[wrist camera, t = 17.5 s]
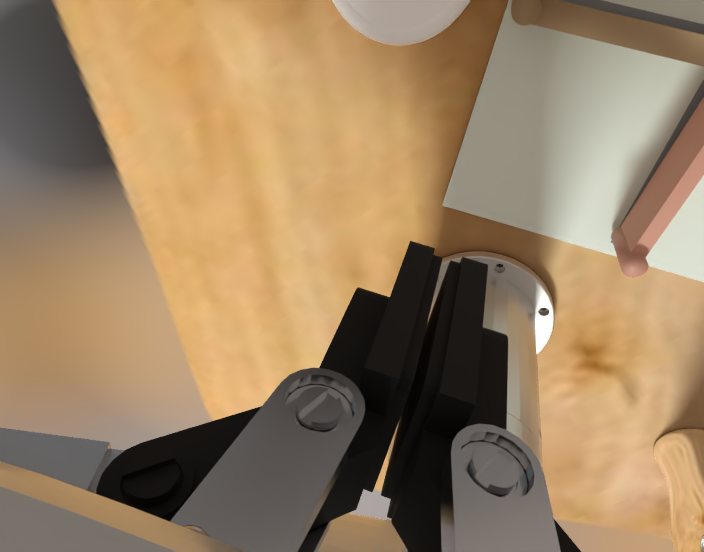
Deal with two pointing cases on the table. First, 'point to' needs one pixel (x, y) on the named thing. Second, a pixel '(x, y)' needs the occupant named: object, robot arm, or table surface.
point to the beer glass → (684, 485)
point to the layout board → (582, 134)
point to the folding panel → (662, 197)
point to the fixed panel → (611, 28)
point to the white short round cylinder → (400, 18)
